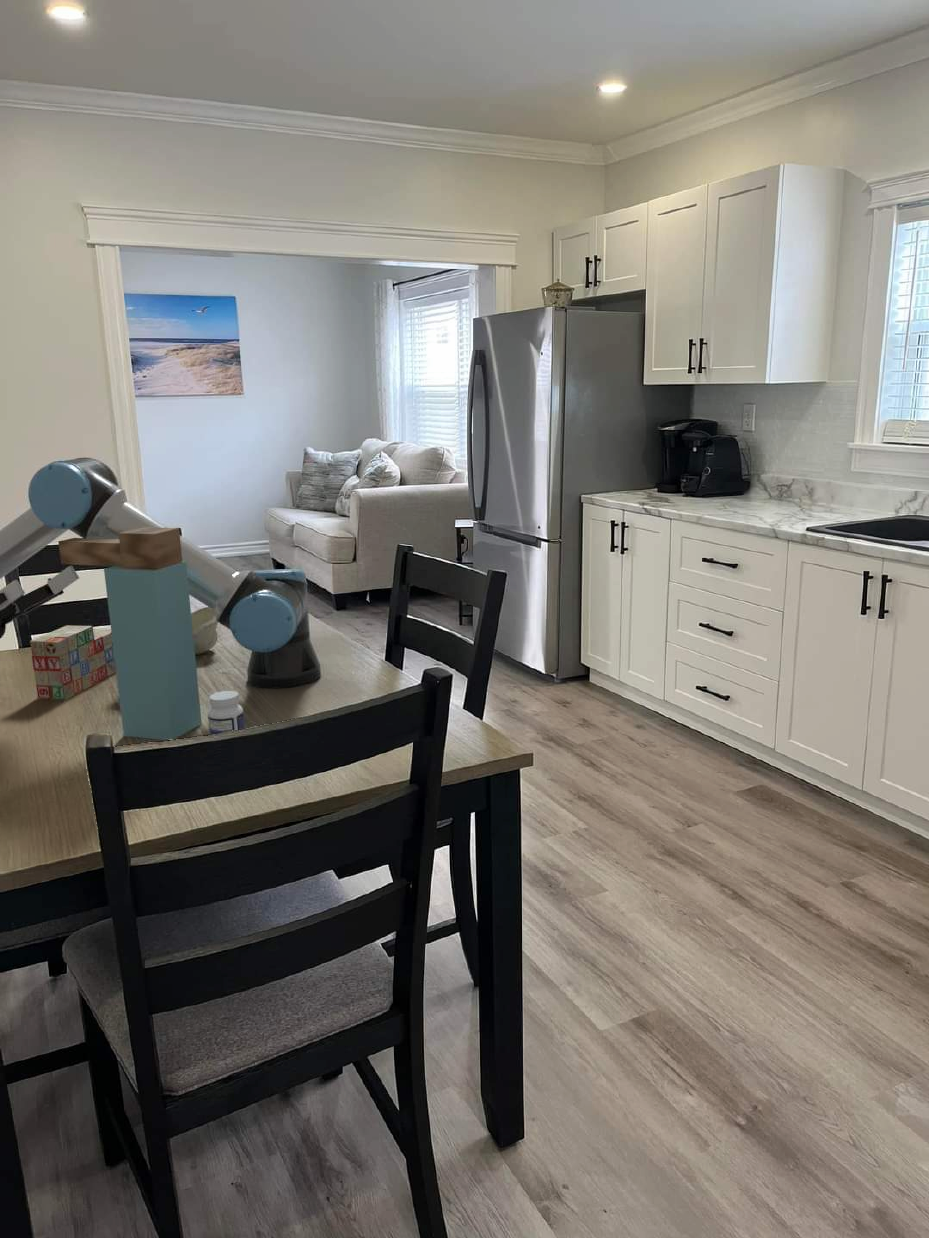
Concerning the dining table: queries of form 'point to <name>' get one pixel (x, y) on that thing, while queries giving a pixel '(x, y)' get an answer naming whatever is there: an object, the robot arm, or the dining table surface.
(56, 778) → the dining table surface
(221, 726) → the pill bottle
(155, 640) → the stand
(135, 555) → the brown wooden block
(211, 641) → the bowl
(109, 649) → the stack of blocks
